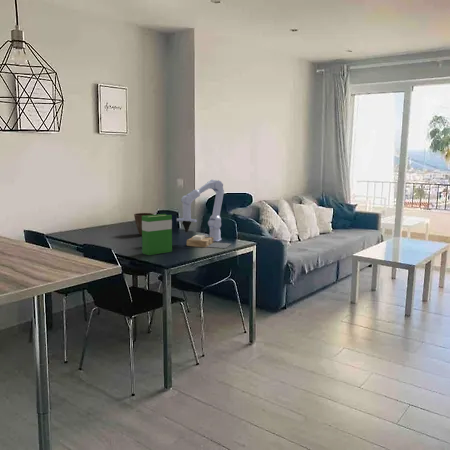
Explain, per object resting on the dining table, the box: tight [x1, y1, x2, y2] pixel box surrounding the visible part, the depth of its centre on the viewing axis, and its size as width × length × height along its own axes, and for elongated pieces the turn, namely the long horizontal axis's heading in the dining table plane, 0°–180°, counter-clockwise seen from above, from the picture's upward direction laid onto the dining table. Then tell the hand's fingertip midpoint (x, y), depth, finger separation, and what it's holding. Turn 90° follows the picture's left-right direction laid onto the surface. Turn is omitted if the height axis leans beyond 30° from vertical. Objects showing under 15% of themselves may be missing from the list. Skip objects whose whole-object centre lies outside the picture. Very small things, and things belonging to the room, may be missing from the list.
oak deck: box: [186, 236, 214, 248], centre depth 332 cm, size 16×14×4 cm
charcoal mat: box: [206, 242, 232, 250], centre depth 328 cm, size 16×13×1 cm
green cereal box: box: [141, 213, 173, 256], centre depth 303 cm, size 18×7×24 cm, turn 130°
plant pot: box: [133, 212, 155, 236], centre depth 367 cm, size 15×15×16 cm
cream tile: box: [192, 234, 206, 240], centre depth 331 cm, size 9×6×2 cm, turn 163°
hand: (186, 231), depth 333 cm, fingers closed
